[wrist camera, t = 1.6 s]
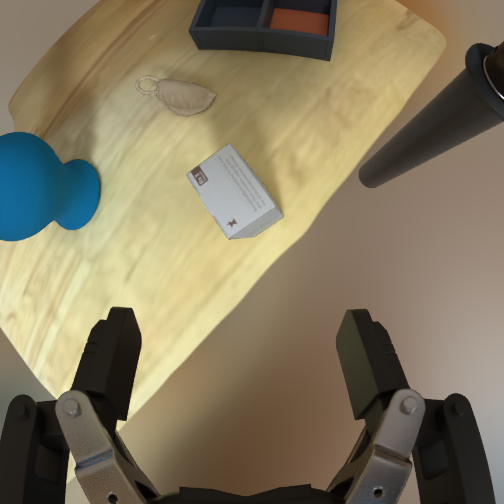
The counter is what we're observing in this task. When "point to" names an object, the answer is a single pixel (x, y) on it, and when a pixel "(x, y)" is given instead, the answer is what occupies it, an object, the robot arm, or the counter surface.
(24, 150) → the vase
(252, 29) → the grid
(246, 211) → the cosmetic box
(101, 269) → the counter surface
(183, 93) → the decorative ornament
